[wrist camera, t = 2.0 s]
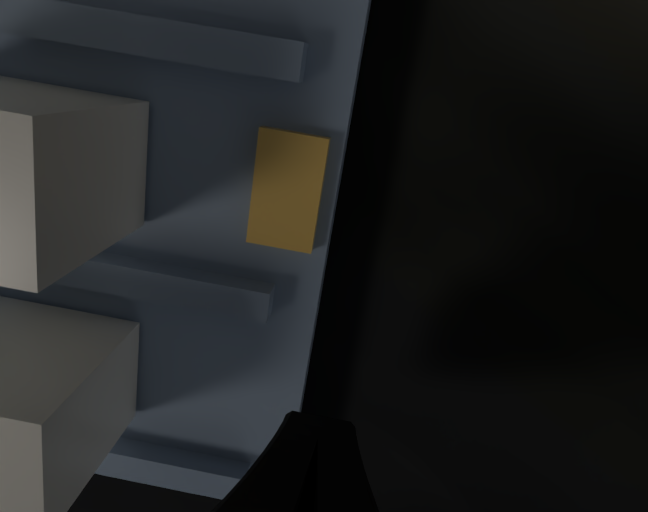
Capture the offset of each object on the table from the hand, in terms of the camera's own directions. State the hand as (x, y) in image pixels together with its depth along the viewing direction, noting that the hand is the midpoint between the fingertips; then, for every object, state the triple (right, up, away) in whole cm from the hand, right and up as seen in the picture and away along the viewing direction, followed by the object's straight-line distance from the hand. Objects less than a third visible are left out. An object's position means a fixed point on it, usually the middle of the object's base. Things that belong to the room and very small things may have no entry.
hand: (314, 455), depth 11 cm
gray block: (-5, +6, 0) cm, 8 cm away
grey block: (-6, +2, +2) cm, 7 cm away
